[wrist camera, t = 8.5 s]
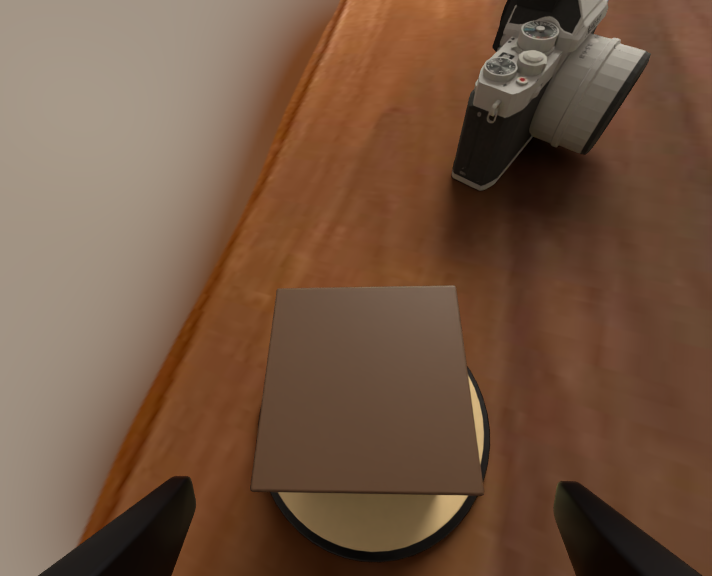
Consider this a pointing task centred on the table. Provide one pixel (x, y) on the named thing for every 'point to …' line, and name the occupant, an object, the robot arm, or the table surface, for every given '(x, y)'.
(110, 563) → the robot arm
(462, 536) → the table surface
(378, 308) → the box
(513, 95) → the camera
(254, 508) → the table surface
